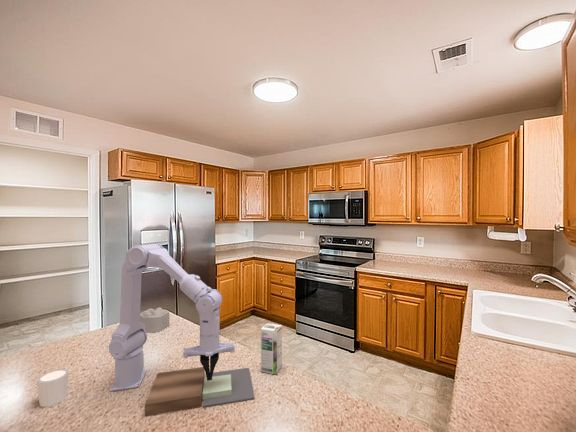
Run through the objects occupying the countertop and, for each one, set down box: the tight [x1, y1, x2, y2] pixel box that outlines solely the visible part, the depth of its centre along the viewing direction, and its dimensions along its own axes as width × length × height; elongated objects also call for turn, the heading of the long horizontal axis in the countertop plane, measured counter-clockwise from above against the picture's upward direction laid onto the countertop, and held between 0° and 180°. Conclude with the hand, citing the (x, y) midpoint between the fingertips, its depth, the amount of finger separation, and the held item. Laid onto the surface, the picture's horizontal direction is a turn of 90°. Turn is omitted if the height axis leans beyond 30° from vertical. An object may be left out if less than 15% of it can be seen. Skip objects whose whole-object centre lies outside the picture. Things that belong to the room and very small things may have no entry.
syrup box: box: [260, 323, 283, 376], centre depth 92 cm, size 6×6×14 cm
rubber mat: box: [202, 367, 256, 409], centre depth 82 cm, size 16×14×1 cm
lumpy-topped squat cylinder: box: [140, 307, 170, 334], centre depth 127 cm, size 10×13×9 cm
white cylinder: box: [36, 368, 70, 408], centre depth 76 cm, size 7×7×7 cm
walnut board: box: [144, 366, 205, 417], centre depth 79 cm, size 15×14×3 cm
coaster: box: [202, 374, 232, 400], centre depth 80 cm, size 8×8×2 cm
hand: (209, 378), depth 80 cm, fingers closed
